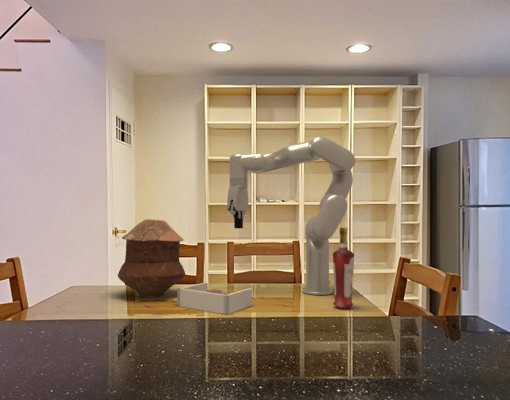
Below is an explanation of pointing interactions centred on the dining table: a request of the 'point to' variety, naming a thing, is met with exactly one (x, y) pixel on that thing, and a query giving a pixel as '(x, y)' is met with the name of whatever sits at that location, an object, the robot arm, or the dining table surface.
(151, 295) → the pottery vessel
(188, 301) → the bin
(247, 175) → the robot arm
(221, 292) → the video game controller
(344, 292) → the red glass bottle
